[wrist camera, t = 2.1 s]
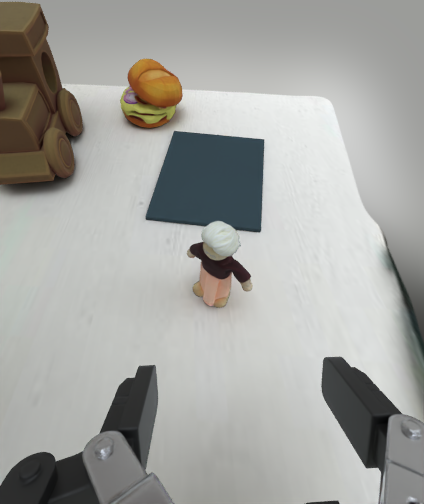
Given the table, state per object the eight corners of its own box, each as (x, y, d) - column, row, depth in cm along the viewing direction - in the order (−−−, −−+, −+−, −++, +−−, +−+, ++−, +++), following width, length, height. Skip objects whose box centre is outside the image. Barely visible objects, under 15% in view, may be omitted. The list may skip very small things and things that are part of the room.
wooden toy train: (25, 118, 51) (-43, 1, 37) (89, 115, 52) (46, 0, 38) (-7, 197, 40) (-120, 74, 26) (74, 191, 41) (6, 69, 27)
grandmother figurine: (179, 296, 32) (166, 231, 22) (193, 270, 34) (187, 198, 24) (240, 321, 31) (258, 265, 20) (251, 293, 33) (273, 227, 22)
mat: (146, 219, 39) (145, 216, 38) (174, 133, 49) (174, 130, 49) (260, 232, 38) (260, 229, 37) (263, 142, 48) (264, 139, 48)
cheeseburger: (131, 97, 55) (132, 41, 47) (182, 115, 57) (192, 64, 48) (112, 125, 50) (110, 67, 41) (169, 145, 51) (178, 92, 43)
